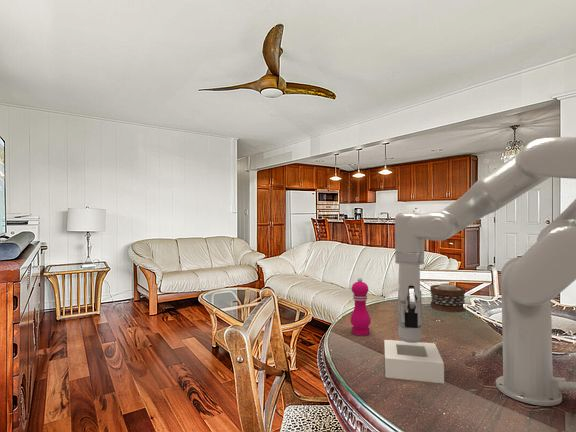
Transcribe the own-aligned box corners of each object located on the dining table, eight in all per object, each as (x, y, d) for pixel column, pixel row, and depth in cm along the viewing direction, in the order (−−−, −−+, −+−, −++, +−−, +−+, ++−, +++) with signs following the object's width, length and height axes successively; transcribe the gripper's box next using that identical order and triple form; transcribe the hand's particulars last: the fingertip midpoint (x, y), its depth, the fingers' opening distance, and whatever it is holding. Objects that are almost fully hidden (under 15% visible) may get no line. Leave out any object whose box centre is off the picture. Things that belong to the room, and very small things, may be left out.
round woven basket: (473, 286, 148) (442, 288, 146) (474, 311, 148) (443, 313, 146) (451, 280, 163) (423, 282, 160) (452, 303, 163) (423, 305, 160)
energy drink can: (424, 344, 89) (423, 287, 89) (400, 343, 90) (400, 286, 90) (419, 336, 95) (418, 283, 95) (396, 335, 96) (396, 282, 96)
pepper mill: (371, 336, 118) (370, 279, 118) (350, 335, 119) (349, 279, 120) (370, 330, 125) (369, 276, 125) (350, 329, 127) (349, 275, 127)
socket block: (435, 360, 97) (434, 343, 97) (444, 383, 84) (443, 363, 84) (384, 356, 101) (384, 339, 101) (385, 377, 87) (385, 358, 87)
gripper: (393, 254, 102) (394, 314, 102) (396, 261, 85) (397, 332, 85) (420, 255, 100) (420, 315, 100) (428, 262, 83) (429, 335, 83)
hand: (410, 323), depth 93 cm, fingers closed on energy drink can, 6 cm apart
